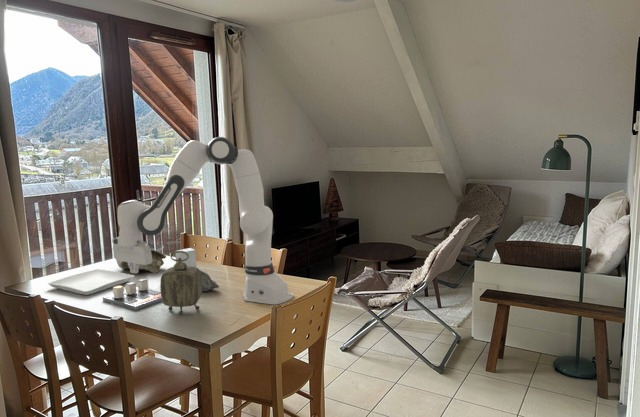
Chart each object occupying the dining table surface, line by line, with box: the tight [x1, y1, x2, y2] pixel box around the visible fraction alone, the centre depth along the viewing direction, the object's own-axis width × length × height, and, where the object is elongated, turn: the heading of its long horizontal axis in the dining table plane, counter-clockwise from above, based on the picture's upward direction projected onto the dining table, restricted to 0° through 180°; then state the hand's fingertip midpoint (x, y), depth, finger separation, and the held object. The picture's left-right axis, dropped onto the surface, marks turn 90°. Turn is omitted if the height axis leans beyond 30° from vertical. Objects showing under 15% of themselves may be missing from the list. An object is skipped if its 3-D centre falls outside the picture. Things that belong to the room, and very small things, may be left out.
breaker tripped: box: [112, 285, 125, 298], centre depth 204 cm, size 3×3×4 cm
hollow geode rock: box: [115, 249, 167, 274], centre depth 252 cm, size 28×13×15 cm
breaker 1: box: [124, 281, 137, 295], centre depth 209 cm, size 3×3×4 cm
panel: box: [102, 286, 163, 312], centre depth 207 cm, size 22×18×2 cm
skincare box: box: [174, 247, 197, 268], centre depth 236 cm, size 8×6×15 cm
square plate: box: [47, 268, 135, 296], centre depth 228 cm, size 27×27×4 cm
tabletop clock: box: [159, 250, 203, 316], centre depth 189 cm, size 14×9×25 cm, turn 92°
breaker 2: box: [137, 278, 149, 291], centre depth 214 cm, size 3×3×4 cm
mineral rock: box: [199, 269, 220, 292], centre depth 217 cm, size 13×11×10 cm
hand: (134, 272), depth 199 cm, fingers closed
